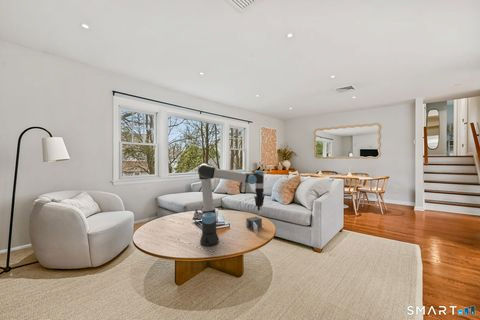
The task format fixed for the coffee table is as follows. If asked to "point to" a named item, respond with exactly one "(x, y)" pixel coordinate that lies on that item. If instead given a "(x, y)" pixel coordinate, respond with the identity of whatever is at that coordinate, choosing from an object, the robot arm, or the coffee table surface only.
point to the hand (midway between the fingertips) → (259, 213)
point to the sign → (197, 215)
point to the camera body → (256, 219)
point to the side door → (255, 228)
